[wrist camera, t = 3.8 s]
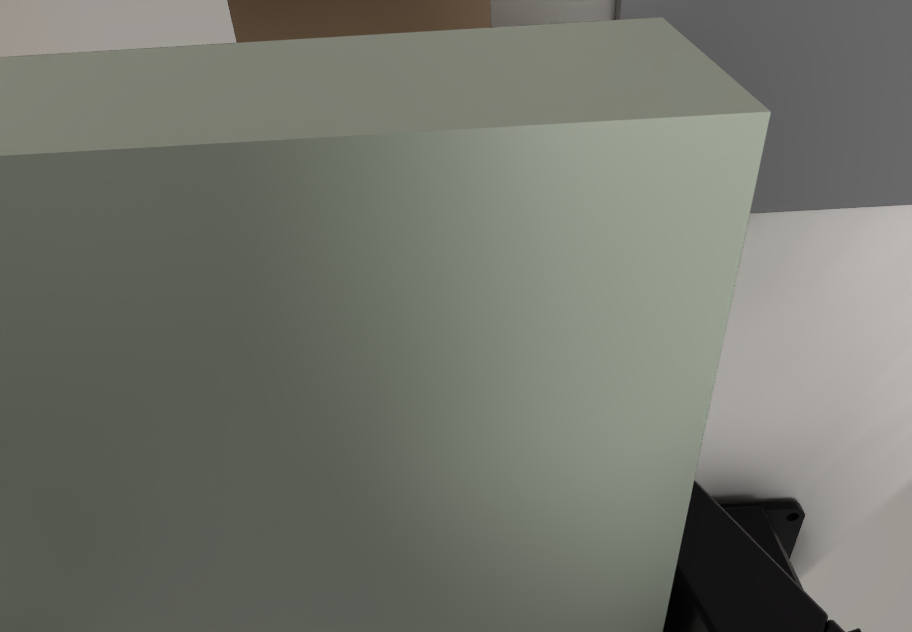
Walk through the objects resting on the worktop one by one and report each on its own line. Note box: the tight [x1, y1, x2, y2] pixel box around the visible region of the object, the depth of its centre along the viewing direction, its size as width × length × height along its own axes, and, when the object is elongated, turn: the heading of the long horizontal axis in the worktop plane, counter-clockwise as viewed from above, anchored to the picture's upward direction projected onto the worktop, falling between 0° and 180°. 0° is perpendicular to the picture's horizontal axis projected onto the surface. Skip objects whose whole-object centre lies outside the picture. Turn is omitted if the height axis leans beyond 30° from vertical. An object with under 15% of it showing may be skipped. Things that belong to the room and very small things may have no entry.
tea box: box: [228, 0, 491, 43], centre depth 18 cm, size 9×5×5 cm, turn 3°
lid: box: [0, 17, 771, 632], centre depth 8 cm, size 11×7×2 cm, turn 3°
